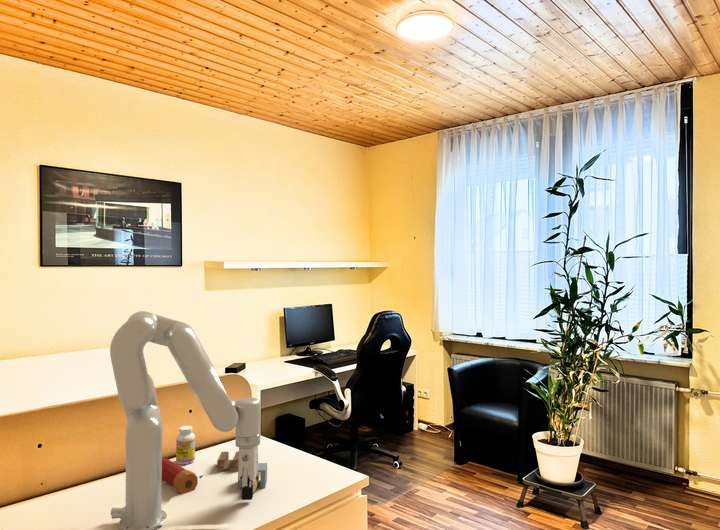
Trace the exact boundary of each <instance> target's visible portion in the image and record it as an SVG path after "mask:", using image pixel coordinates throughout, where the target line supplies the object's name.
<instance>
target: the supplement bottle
mask: <svg viewBox="0 0 720 530" xmlns="http://www.w3.org/2000/svg"><path fill="white" fill-rule="evenodd" d="M175 444H176V445H175V447H176V449H175V450H176V451H175V463H176V464H177V465H181V464H186V465H189V463H190V464H192V463H194V462H195V459H196V458H195V457H196V456H195V455H196V453H195V452H196V435H195V433H193V426H192V425H183V426H180V427H179V434H178V435H176V442H175Z"/></svg>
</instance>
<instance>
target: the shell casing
mask: <svg viewBox="0 0 720 530" xmlns="http://www.w3.org/2000/svg"><path fill="white" fill-rule="evenodd" d="M162 481H163V482H164V483H166V484H167V485H168V486H170V487H172V488H173V489H174V490H175V491H176V492H177V493H178V494H180V495H185V494H188V493H190V492H194V491H195V490H196V488H197V486H198V482H199V480H198V475H197V474H196V472H193V471H191V470H189V469H186V468H184V467H182V466H181V465H180V464H178V463H177V462H174V461H172V460H170V459H168V458H165V457H162Z"/></svg>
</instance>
